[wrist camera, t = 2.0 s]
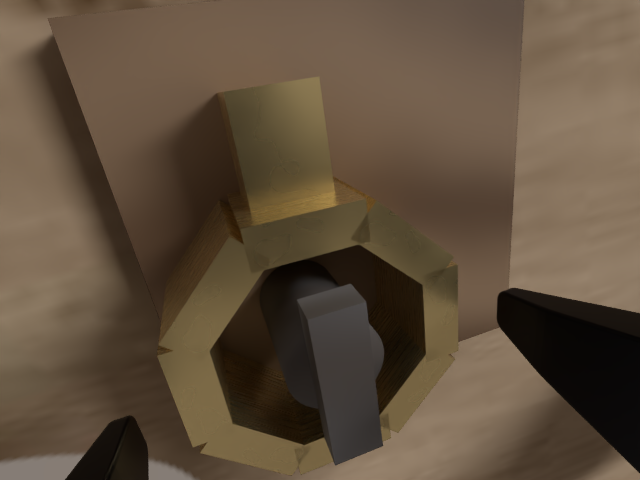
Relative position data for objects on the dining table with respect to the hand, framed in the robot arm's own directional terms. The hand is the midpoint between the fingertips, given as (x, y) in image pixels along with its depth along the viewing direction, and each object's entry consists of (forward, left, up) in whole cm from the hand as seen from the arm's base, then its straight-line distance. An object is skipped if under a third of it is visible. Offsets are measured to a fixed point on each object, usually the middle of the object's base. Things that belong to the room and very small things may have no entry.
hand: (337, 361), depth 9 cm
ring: (+1, 0, -3) cm, 4 cm away
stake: (+2, -2, -4) cm, 5 cm away
